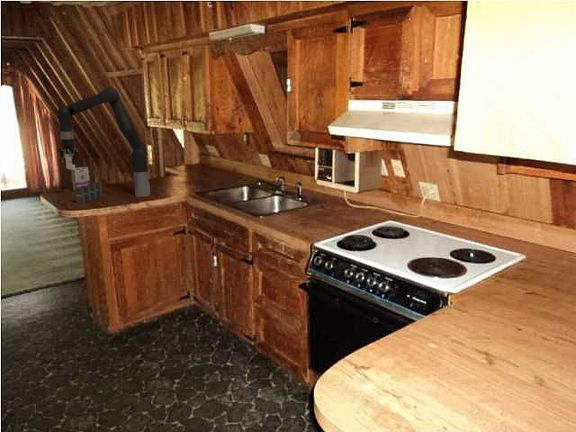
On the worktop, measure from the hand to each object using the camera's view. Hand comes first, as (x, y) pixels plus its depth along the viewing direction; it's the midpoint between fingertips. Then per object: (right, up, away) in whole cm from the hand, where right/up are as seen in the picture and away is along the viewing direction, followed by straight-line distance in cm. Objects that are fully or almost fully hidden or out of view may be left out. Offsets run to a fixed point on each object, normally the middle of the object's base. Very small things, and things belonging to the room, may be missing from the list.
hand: (70, 163), depth 304 cm
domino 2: (+12, -25, -2) cm, 28 cm away
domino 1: (+11, -26, -8) cm, 29 cm away
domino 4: (+15, -21, +9) cm, 28 cm away
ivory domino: (0, -3, +1) cm, 3 cm away
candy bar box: (-5, -16, +27) cm, 32 cm away
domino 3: (+14, -23, +4) cm, 27 cm away
